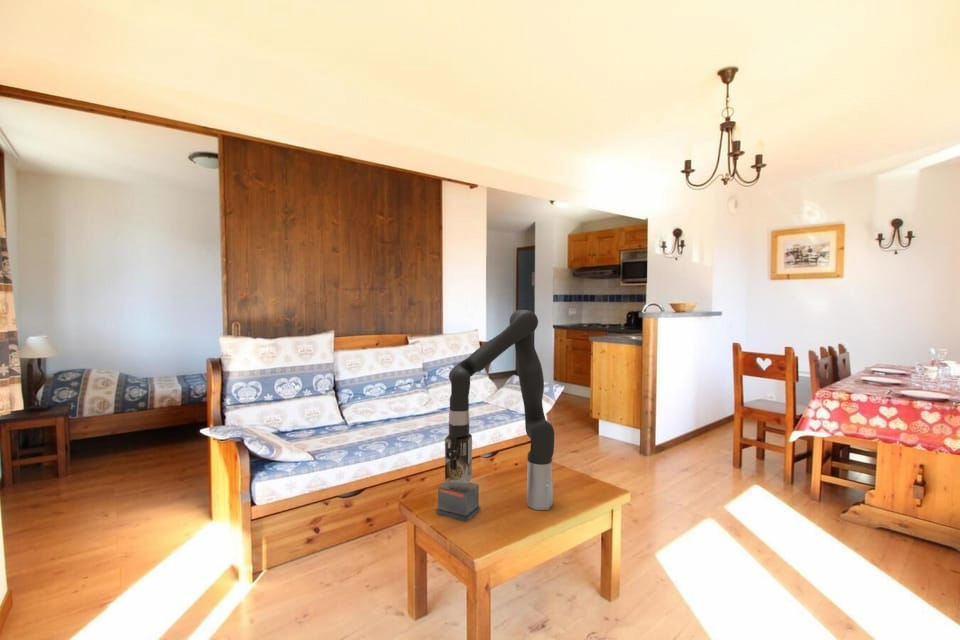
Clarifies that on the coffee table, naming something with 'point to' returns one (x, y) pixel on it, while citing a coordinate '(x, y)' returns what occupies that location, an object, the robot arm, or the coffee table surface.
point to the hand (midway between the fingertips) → (458, 465)
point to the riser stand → (458, 500)
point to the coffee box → (460, 461)
